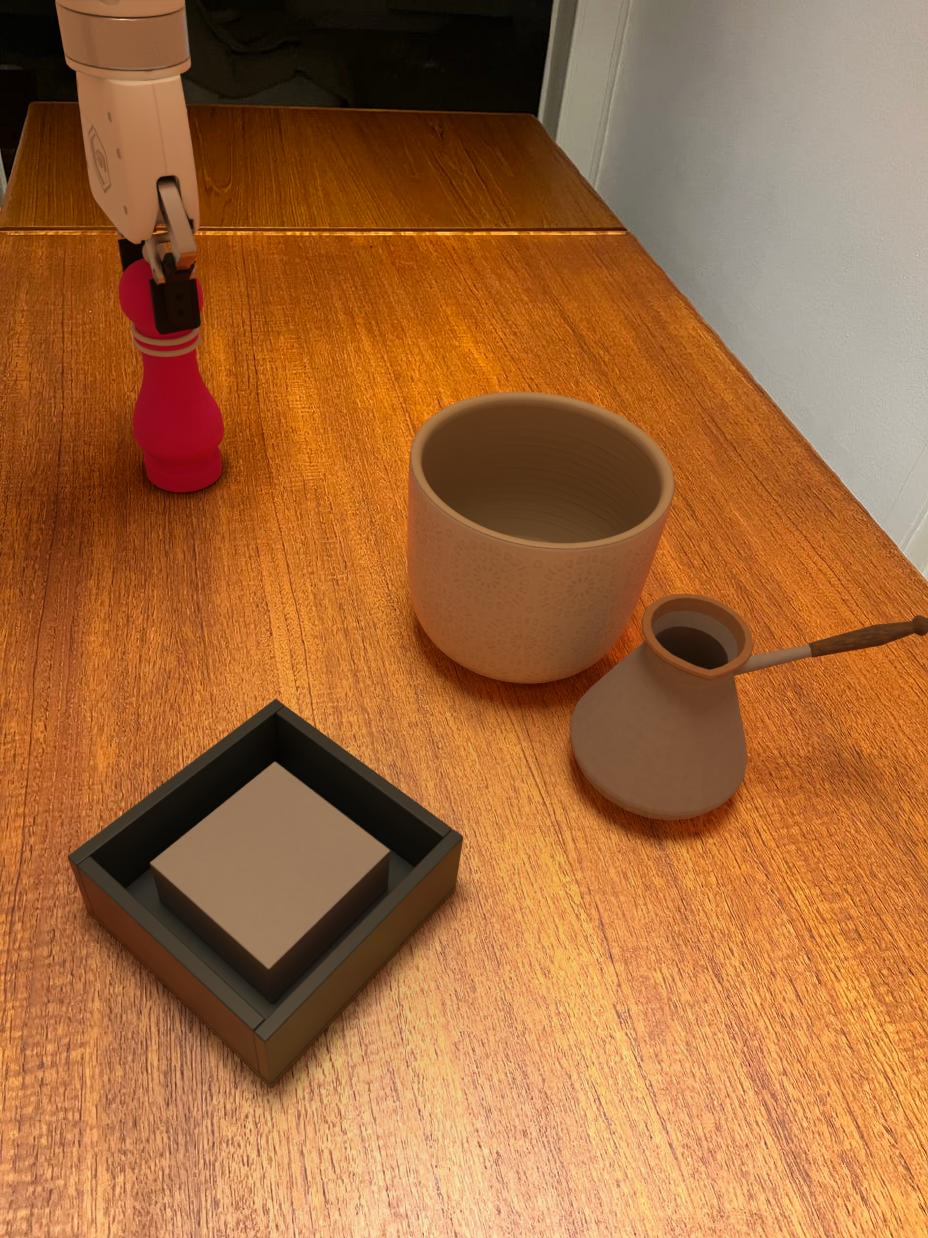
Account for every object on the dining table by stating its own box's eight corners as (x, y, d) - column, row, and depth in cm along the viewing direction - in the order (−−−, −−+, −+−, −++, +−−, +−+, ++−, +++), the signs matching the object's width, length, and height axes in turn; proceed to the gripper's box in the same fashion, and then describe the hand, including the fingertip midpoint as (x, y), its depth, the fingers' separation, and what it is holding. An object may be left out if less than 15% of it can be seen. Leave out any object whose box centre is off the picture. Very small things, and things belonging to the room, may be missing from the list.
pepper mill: (124, 464, 83) (81, 232, 69) (200, 437, 87) (173, 212, 73) (168, 507, 79) (132, 271, 65) (244, 477, 83) (225, 248, 69)
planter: (420, 729, 65) (435, 557, 54) (384, 562, 77) (391, 393, 66) (658, 705, 68) (716, 539, 58) (589, 548, 80) (627, 386, 70)
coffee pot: (573, 840, 60) (622, 677, 49) (554, 698, 68) (592, 532, 58) (904, 846, 62) (1019, 690, 51) (847, 707, 70) (936, 548, 59)
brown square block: (159, 901, 54) (149, 862, 51) (278, 800, 59) (274, 760, 57) (272, 1005, 50) (268, 969, 48) (388, 888, 56) (390, 850, 53)
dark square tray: (86, 911, 54) (66, 856, 50) (279, 754, 63) (275, 697, 59) (271, 1089, 48) (264, 1043, 44) (455, 889, 57) (464, 836, 53)
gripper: (26, 2, 63) (78, 268, 76) (107, 84, 53) (152, 374, 66) (140, -3, 67) (171, 253, 79) (237, 74, 57) (256, 353, 69)
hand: (162, 306), depth 72 cm, fingers closed on pepper mill, 6 cm apart
